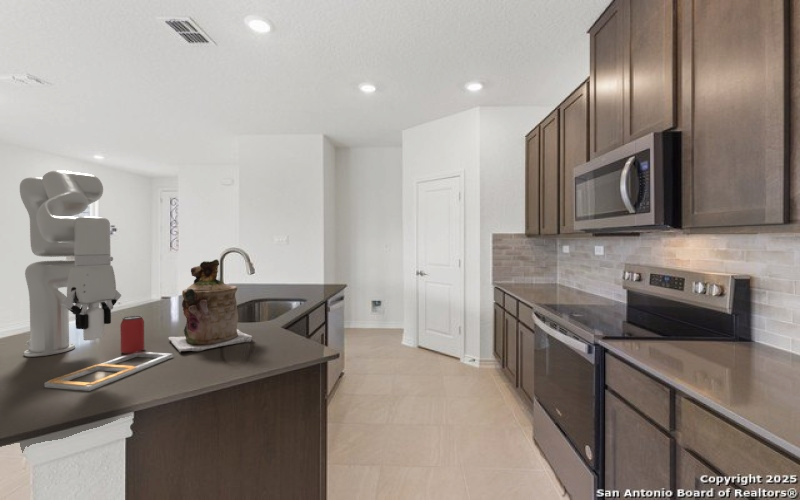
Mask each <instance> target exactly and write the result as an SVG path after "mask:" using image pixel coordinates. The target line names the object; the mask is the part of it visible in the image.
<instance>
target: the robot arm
mask: <svg viewBox="0 0 800 500" xmlns="http://www.w3.org/2000/svg"><path fill="white" fill-rule="evenodd" d="M103 193H104V186H103V183H102V181H101V179H100V178H99V177H97V176H96V175H93V174H89V173H83V172H82V173H81V172H72V171H68V170H67V171H66V170H52V171H48V172H46V173H45V174H43V176H42V177H41V176H40V177H39V176H37V177H35V176H33V177H31V176H30V177H25V178H24V179H22V180H21V182H19V195H20V198H21V201H22V203H23V206H24V207H25V209H26V212H27V214H28V216H29V217H28V218H29V237H30V238H29V240H30V249H31V252H32V253H33V255H35V256H37V257H42V258H43V257H44V258H45V257H46V258H51V257H52V258H55V257H57V258H61V257H64V258H65V257H67V258H68V257H73V259H74V260H73V259H72V260H71V259H70V260H42V261H41V260H40V261H35V262H33V263H30V264H29V265H27V266H26V268H25V271H24V277H25V281H26V285H27V290H28V297H29V299H28V300H29V333H30V334H29V335H30V336H29V337H30V339H28V340H27V341H25V342H24V345H25V346H28V349H27V350H24V351H23V356H25V357H36V358H37V357H45V356H52V355H57V354H63V353H66V352H69V351H71V350H73V349H75V348H76V344H75V343H73V342H70V321H69V320H70V317H69V316H70V312H71V313H72V314H73V315H74V316H75V328H76V330H83V329H88V314H85V313H86V310H87V309H88V304H89V303H94V302H99V307H100V308H102V309H103V310H104V325H110V324H111V323H112V310H113V309H114V306H115V305H116V303H117V302H118V301H119V299H121V297H122V294H121V293H120V292H119V291H118V290H117V284H116V283H117V282H116V276H115V271H114V267H113V265H111V264H112V263H111V262H113V260H114V257H113V256H111V223H110V220H109V219H108V218H105V217H100V216H77V215H80V214H82V213H84V212H85V211H86V210H87V208H88V207H89V205H91V204H93V203H95V202H97V201H98V200H100V199H101V198H102V196H103ZM60 288H66V294H65V293H63V292H61V291H60V290H59V289H60Z"/></svg>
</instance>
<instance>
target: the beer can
mask: <svg viewBox="0 0 800 500" xmlns="http://www.w3.org/2000/svg"><path fill="white" fill-rule="evenodd" d="M119 327H120V353H122V354H125V355H128V354H131V353H134V352H143V351H144V350H145V320H144V318H143V316H142V315H130V316H125V317H122V319H121V322H120V326H119Z"/></svg>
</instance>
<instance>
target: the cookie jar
mask: <svg viewBox="0 0 800 500" xmlns="http://www.w3.org/2000/svg"><path fill="white" fill-rule="evenodd" d="M219 265H220V261H219V259H214V260H212V261H209V260H207V261H206V260H205V261H202V262H201V263H200V264H199V265H198V266H193V267H192V268H191V269H190V273H191V276H192V277H195V279H194V280H193V283H192V284H191V285H190V286H188V287H187V288H185V289H182V291H181V292H182V293H181V295H182V297H183V300H182V302H181V307H182V311H183V315H184V317H185V318H186V324H185V326H184V329H183V333H184V336H169V337H167V339H168V340H169V341H170V342H171V344H172V345H173V346H174V347H175V349H177V351H178V352H179V353H181V352H187V351H189V352H190V351H192V352H202V351H204V350H209V349H214V348H220V347H225V346H228V345H234V344H241V343H246V342H247V343H249V342H250V343H251V342H252V338H253V335H250V334H247V333H244V332H242V331H241V330H240V329H238V322H239V313H238V307H237V305H238V304H237V299H236V292H237V290H238V287H237V286H236V285H229V284H227V283H224V282H223V281H222V280H219V279H217V278H218V273H219Z"/></svg>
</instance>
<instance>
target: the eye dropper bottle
mask: <svg viewBox="0 0 800 500" xmlns="http://www.w3.org/2000/svg"><path fill="white" fill-rule="evenodd" d="M85 314H88V329H82V330H83V333H82V334H83V340H84V341H94V340H98V339H101V338H103V337H104V336H105V324H104V310H103V309H102V308H101V307H100V303H99V302H94V303H89V304H88V307H87V310H86V313H85Z"/></svg>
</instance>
